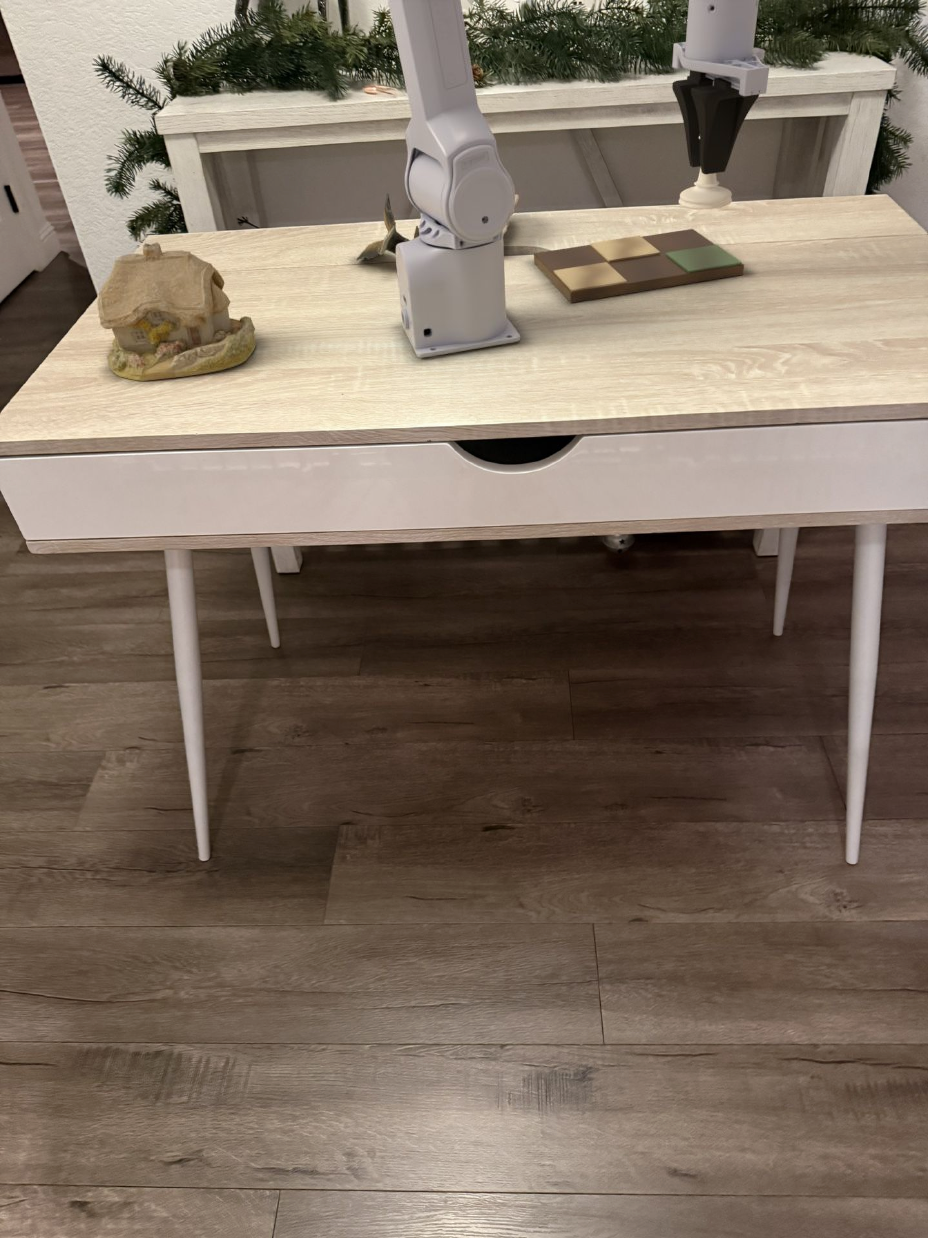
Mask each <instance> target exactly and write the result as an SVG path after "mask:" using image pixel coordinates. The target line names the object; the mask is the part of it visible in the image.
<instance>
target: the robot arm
mask: <svg viewBox="0 0 928 1238" xmlns="http://www.w3.org/2000/svg"><path fill="white" fill-rule="evenodd" d="M759 2H760V0H688V8H687V18H686V19H687V21H686V35H685V41H681V42H674V43H673V50H672V63H671V65H672V66H671V67H672V68H673V69H677V70H679V69H684V70H687V71H689V75H687V76H686V79H679V80H674V81H673V82H672V86H671V87H672V91H673V94H674V96H675V98H676V101H677V104H678V107H679V110H680V113H681V118H682V122H683V127H684V132H685V141H686V148H687V156H688V157H687V158H688V162H689V166H690V167H691V168H698V167H699V168H701V171H702V173H703V174H713V173H716V174H719V173H725V172H726V170H727V167H728V164H729V161H730V158H731V156H732V153H733V149H734V146H735V143H736V141H737V138H738V135H739V133H740V130H741V128H742V127H743V124H744V122H745V119H746V118H747V116H748V114H749V112H750V110H751V109H752V107H753V106H754V104H755V103H756V101H757V100H758V99H759V97H760V95H763V94H764V95H765V94H766V93H767V89H768V80H769V75H770V74H769V72H770V66H768V65H766V64H764V63H762V61H763V60H764V59H765V53H766V51H765V49H762V48H759V47H754V45H755V36H756V28H757V19H758V13H759ZM387 3H388V8H389V12H390V17H391V22H392V26H393V32H394V36H395V41H396V45H397V50H398V56H399V61H400V65H401V69H402V74H403V80H404V84H405V88H406V94H407V99H408V103H409V108H410V113H411V117H410V120H409V123H408V125H407V128H406V129H405V133H404V139H405V144H406V149H407V150H406V151H407V161H406V167H405V171H404V189H405V193H406V195H407V198H408V200H409V202H410V204H411V205H412V206H413V207H414V209H416V210H417V211H418V212H419V213H420V220H419V224H418V228H419V236H418V237H417V238H415V239H414V238H412V239H409V240H410V241H407V242H402V243H399V244H397V245H396V255H395V265H396V275H397V284H398V291H399V292H398V293H399V300H400V315H401V325H402V326H401V327H402V328H403V330H404V333H405V335H406V336H407V338H408V340H409V343H410V345H411V347H412V349H413V351H414V352H415V354H416V357H417V358H430V357H434V356H441V355H446V354H452V353H459V352H464V351H465V352H466V351H470V350H475V349H481V348H489V347H494V346H495V347H496V346H500V345H506V344H511V343H517V342H518V343H519V341H521V335H520V333H519V332H518V330H517V329H516V327H514V325H513V324H512V322H511V321H510V320H509V318H508V317H507V303H506V302H507V301H506V300H507V299H506V277H505V250H504V236H503V229H504V228H505V226H506V225H507V223H508V222H509V221H511V217H512V216H513V215H512V213H513V209H514V210H515V207H514V204H515V194H516V188H515V184H514V182H513V179H512V176H511V175H510V173H509V172H508V171H507V169H506V168H505V166H504V165H503V163H502V161H501V158H500V155H499V151H498V144H497V140H496V137H495V135H494V133H493V131H492V129H491V128H490V126H489V123H488V122H487V119H486V118H485V116H484V115H483V113H482V111H481V109H480V107H479V104H478V103H479V102H478V98H477V92H476V85H475V79H474V73H473V67H472V61H471V56H470V55H471V54H470V49H469V44H468V37H467V31H466V25H465V18H464V13H463V7H462V1H461V0H387ZM713 81H714V86H713ZM699 136H700V139H699ZM513 214H514V213H513ZM511 215H512V216H511Z"/></svg>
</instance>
